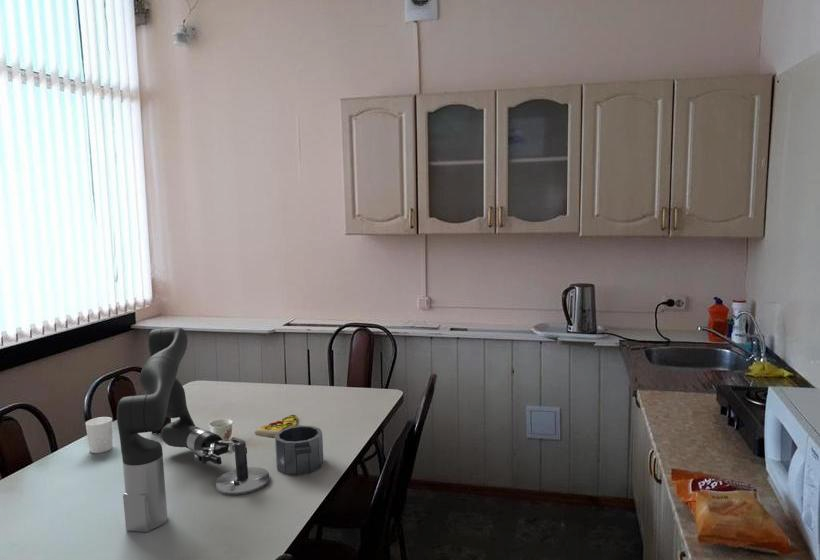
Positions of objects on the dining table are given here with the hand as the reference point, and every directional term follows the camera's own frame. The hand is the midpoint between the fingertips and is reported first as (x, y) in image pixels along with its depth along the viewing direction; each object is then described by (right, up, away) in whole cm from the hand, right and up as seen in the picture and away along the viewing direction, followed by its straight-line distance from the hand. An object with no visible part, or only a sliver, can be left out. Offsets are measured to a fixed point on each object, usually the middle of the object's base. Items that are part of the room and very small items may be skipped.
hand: (233, 456), depth 172 cm
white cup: (-52, -5, +25) cm, 58 cm away
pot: (+18, -5, +9) cm, 21 cm away
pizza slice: (+6, -3, +42) cm, 43 cm away
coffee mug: (-39, -3, +43) cm, 58 cm away
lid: (+3, -7, -2) cm, 8 cm away
